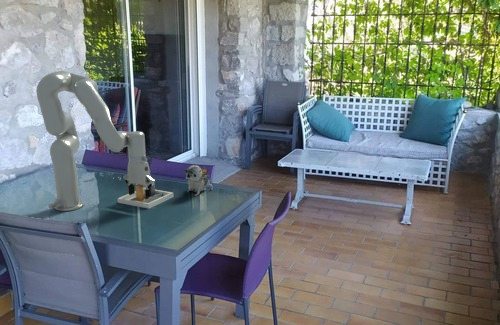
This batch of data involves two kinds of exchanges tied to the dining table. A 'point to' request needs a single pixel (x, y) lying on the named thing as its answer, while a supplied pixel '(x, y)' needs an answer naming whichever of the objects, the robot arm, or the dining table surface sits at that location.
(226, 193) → the dining table surface
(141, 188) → the jaw orange
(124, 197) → the tray
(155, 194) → the jaw grey
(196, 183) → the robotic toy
